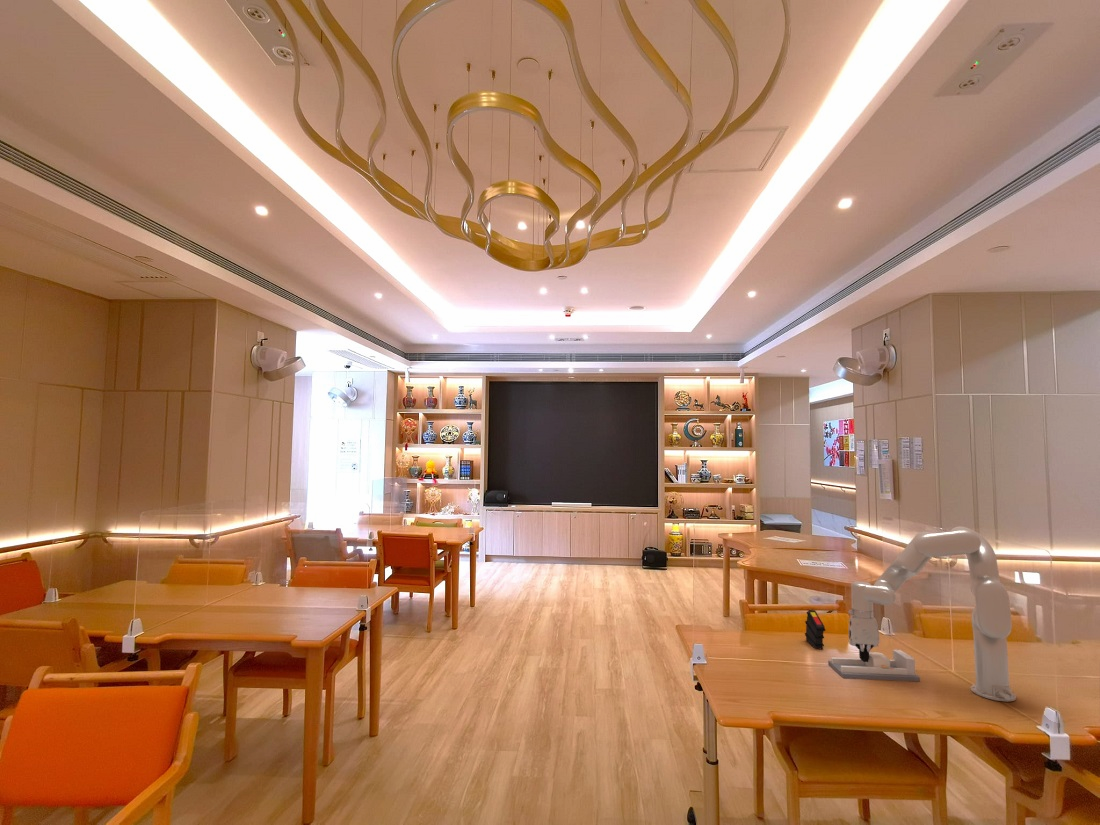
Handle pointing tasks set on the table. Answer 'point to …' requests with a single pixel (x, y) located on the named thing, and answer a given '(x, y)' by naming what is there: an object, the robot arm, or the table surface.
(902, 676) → the board
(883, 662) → the block
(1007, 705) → the table surface
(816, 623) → the black ridged block
